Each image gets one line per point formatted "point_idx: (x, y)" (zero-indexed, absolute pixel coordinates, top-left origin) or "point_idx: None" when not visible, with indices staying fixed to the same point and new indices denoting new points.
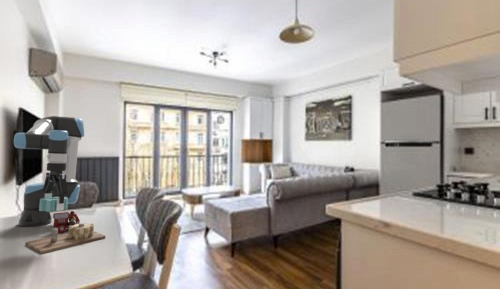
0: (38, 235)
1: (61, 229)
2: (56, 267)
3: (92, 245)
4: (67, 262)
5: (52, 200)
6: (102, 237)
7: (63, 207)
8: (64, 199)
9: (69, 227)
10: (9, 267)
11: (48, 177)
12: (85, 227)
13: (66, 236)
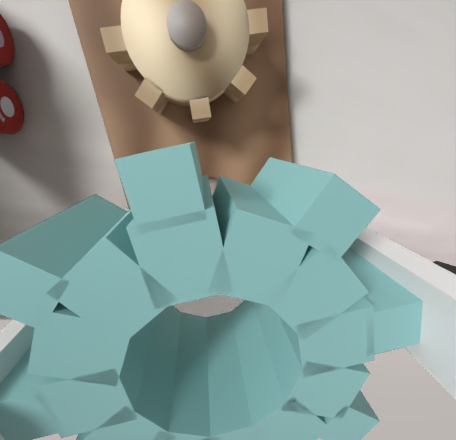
0: (22, 212)
1: (9, 109)
2: (436, 225)
3: (337, 54)
4: (428, 192)
5: (346, 395)
6: None
7: (365, 228)
8: (344, 241)
9: (156, 104)
10: None
11: None
12: (243, 21)
13: (156, 120)
